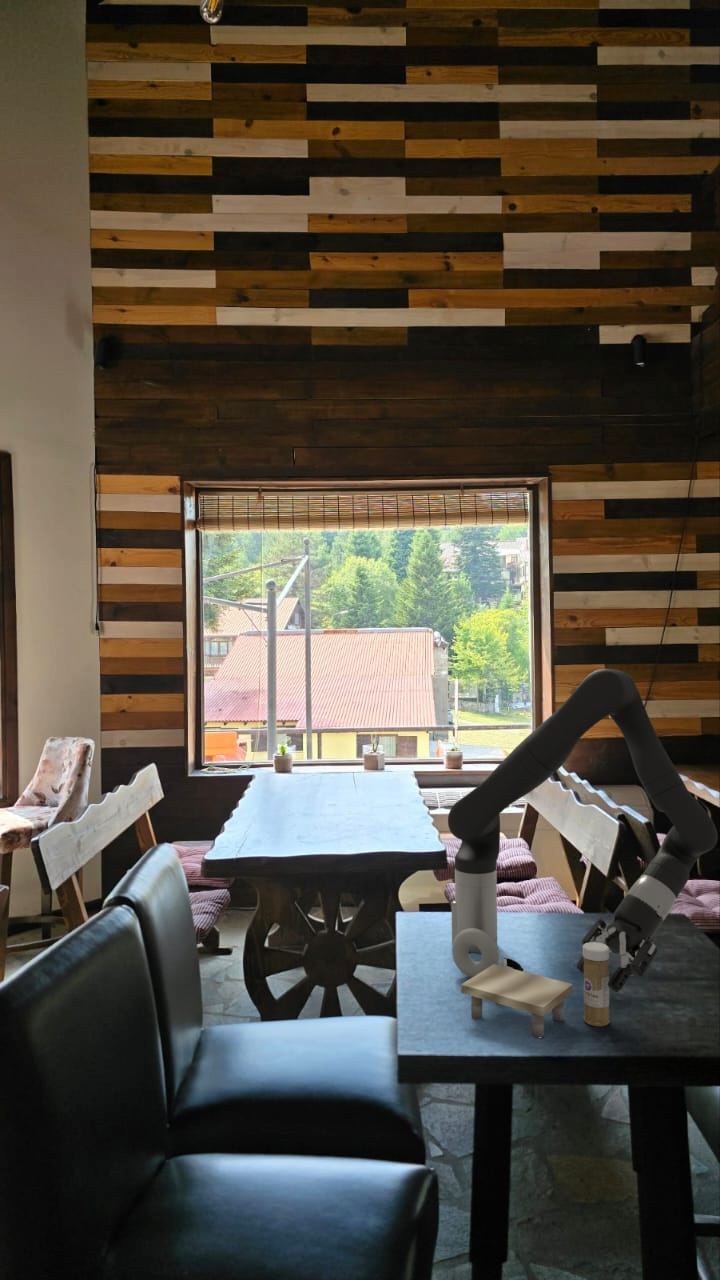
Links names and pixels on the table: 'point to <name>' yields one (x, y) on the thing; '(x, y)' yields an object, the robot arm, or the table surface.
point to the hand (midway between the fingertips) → (595, 979)
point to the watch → (511, 964)
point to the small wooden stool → (518, 994)
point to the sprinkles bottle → (596, 984)
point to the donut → (480, 941)
